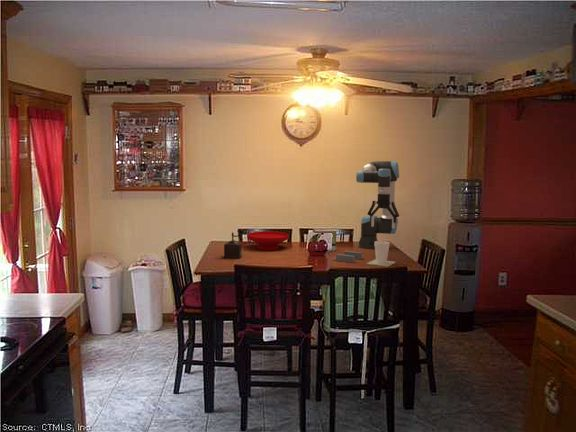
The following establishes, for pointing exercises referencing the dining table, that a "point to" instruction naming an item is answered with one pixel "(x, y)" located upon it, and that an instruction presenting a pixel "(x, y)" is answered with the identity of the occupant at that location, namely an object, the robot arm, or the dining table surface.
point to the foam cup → (381, 251)
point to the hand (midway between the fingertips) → (382, 227)
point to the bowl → (268, 239)
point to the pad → (381, 264)
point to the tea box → (328, 232)
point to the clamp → (348, 256)
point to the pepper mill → (233, 247)
